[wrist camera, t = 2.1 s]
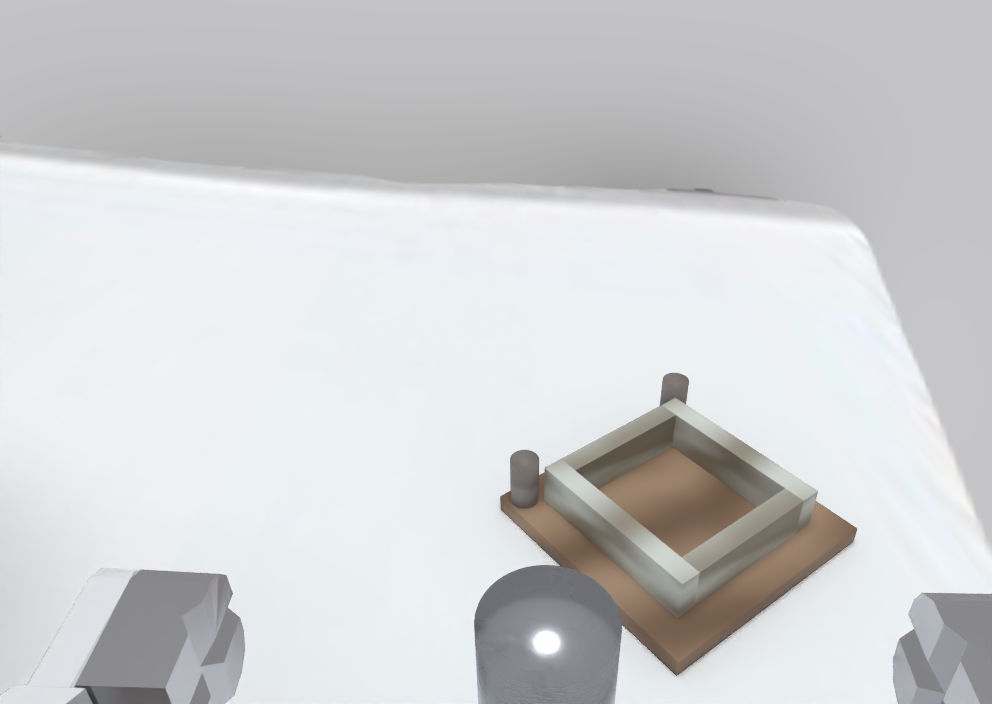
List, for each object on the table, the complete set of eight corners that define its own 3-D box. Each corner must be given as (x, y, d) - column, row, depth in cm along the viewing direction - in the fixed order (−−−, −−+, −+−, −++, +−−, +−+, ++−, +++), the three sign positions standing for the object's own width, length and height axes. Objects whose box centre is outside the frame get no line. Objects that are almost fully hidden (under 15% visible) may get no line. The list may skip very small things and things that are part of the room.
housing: (500, 508, 50) (499, 457, 48) (669, 416, 57) (675, 367, 55) (676, 675, 41) (685, 621, 39) (853, 541, 48) (869, 488, 46)
